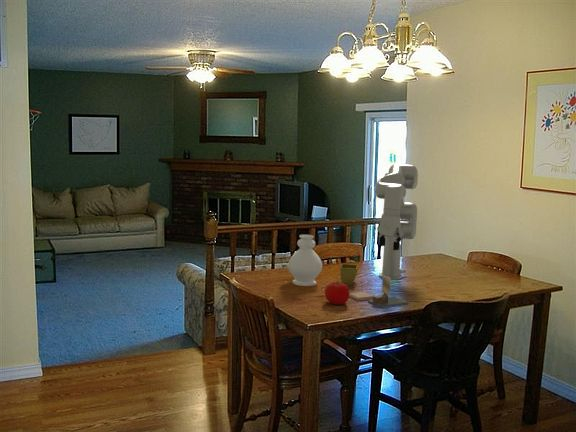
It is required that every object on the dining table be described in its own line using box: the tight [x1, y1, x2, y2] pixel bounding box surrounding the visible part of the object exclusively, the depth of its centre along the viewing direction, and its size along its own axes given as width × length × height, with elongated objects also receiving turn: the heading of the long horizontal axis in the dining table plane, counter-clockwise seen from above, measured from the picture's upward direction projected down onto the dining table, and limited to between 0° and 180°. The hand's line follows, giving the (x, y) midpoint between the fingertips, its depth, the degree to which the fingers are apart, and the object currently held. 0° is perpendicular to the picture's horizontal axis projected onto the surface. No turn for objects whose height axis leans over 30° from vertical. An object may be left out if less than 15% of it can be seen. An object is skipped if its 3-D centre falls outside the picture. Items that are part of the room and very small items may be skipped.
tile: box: [349, 291, 374, 302], centre depth 303 cm, size 2×8×9 cm
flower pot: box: [339, 263, 359, 285], centre depth 329 cm, size 9×9×9 cm
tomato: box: [324, 281, 350, 306], centre depth 291 cm, size 12×12×10 cm
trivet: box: [367, 295, 409, 309], centre depth 295 cm, size 16×10×1 cm, turn 123°
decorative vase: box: [287, 234, 323, 287], centre depth 324 cm, size 18×18×25 cm
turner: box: [372, 276, 392, 304], centre depth 292 cm, size 12×5×7 cm
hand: (389, 247), depth 293 cm, fingers open, 9 cm apart
